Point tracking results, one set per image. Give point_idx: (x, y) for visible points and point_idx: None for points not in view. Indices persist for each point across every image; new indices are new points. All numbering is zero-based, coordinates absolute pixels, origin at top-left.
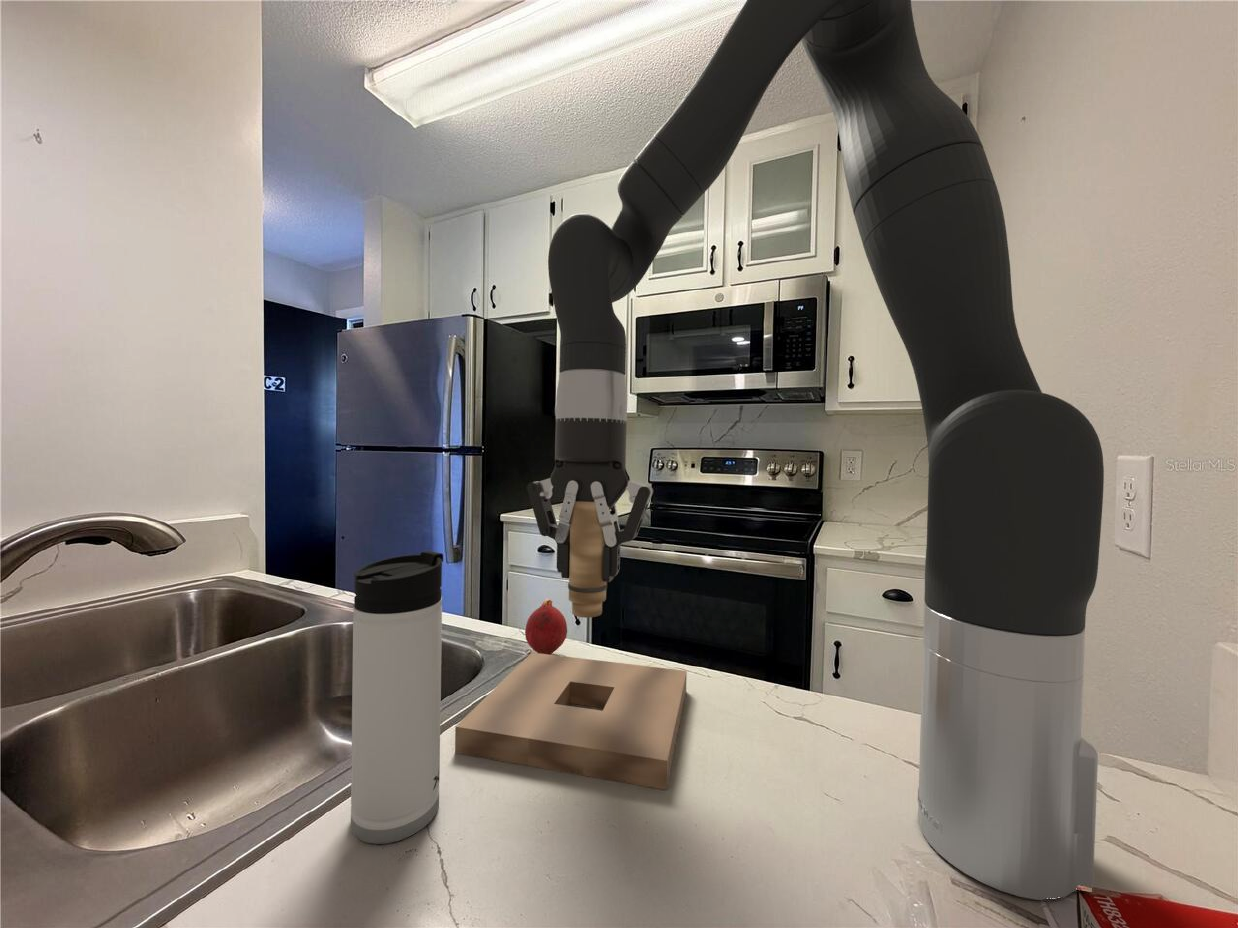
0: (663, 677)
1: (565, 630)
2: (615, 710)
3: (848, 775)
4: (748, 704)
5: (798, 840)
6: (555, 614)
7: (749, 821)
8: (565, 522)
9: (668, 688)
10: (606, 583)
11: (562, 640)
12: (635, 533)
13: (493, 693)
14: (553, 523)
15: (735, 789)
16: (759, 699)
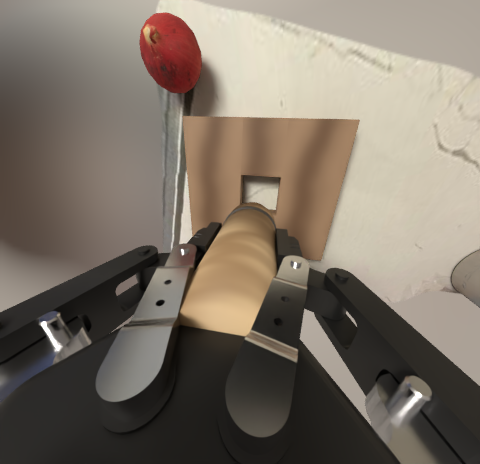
0: (329, 145)
1: (198, 57)
2: (285, 213)
3: (446, 226)
4: (413, 135)
5: (379, 274)
6: (175, 54)
7: (358, 266)
8: None
9: (332, 169)
10: (275, 227)
11: (200, 68)
12: (347, 316)
13: (192, 205)
14: (145, 270)
15: (358, 247)
16: (432, 120)
